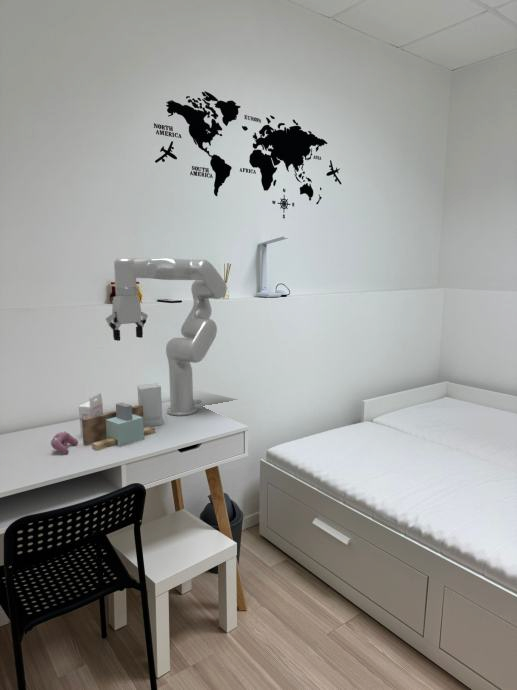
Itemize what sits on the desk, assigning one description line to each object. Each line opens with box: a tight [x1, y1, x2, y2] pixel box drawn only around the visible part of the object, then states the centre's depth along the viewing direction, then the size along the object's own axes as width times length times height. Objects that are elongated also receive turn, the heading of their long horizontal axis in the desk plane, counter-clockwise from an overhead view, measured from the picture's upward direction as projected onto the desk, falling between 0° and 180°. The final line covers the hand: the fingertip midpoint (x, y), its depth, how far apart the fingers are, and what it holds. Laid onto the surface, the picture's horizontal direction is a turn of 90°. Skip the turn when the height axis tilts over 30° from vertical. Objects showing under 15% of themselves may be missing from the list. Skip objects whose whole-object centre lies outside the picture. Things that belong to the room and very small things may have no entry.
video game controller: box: [50, 431, 79, 455], centre depth 168 cm, size 10×5×7 cm, turn 179°
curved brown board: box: [82, 404, 156, 451], centre depth 178 cm, size 24×9×9 cm, turn 138°
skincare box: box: [136, 382, 164, 428], centre depth 194 cm, size 8×7×16 cm
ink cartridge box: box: [78, 392, 104, 438], centre depth 183 cm, size 9×5×15 cm, turn 168°
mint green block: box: [106, 402, 145, 447], centre depth 176 cm, size 10×8×13 cm
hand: (128, 338), depth 186 cm, fingers open, 9 cm apart
